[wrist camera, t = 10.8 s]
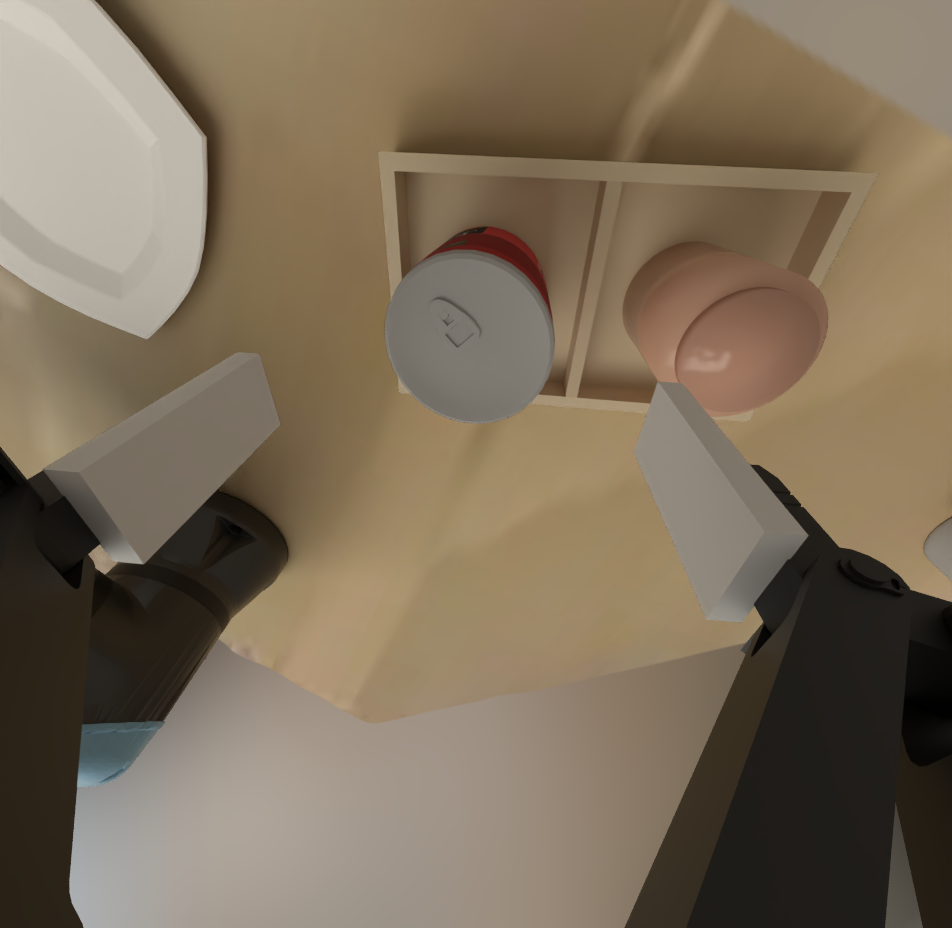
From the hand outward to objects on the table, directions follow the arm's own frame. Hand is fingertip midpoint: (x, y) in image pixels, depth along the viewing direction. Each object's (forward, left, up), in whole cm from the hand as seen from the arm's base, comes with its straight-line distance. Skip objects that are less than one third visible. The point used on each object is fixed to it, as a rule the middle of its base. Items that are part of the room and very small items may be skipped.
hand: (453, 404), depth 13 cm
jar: (+12, 0, -16) cm, 20 cm away
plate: (-28, +6, -17) cm, 33 cm away
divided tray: (+6, 0, -17) cm, 18 cm away
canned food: (0, 0, -16) cm, 16 cm away
